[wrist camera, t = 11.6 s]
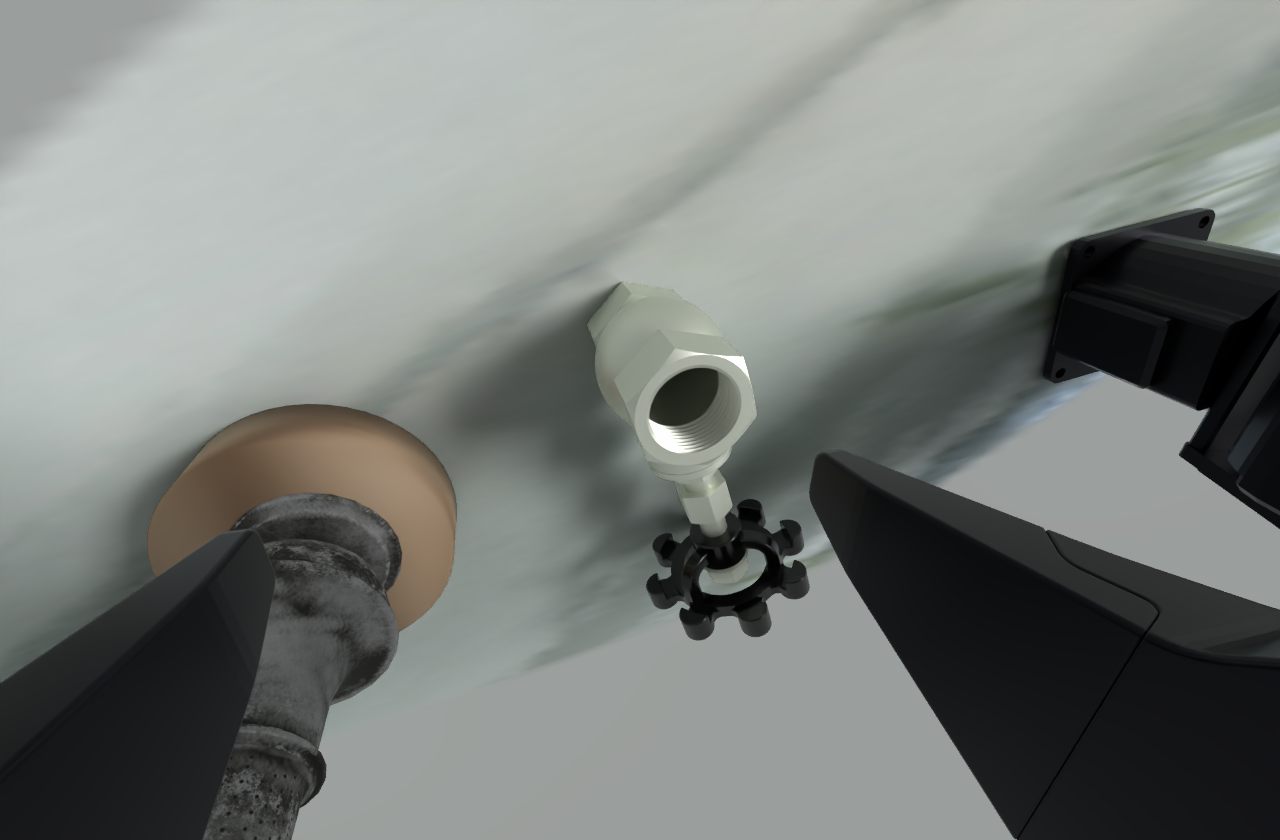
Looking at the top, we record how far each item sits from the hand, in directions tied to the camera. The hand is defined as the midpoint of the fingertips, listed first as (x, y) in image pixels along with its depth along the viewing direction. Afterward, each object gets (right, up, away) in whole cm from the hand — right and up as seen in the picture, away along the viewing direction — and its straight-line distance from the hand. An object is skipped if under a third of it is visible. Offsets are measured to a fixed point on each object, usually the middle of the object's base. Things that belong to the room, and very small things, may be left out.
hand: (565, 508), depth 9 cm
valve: (+2, +2, +14) cm, 14 cm away
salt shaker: (-10, -3, +10) cm, 14 cm away
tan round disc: (-10, -2, +12) cm, 16 cm away
